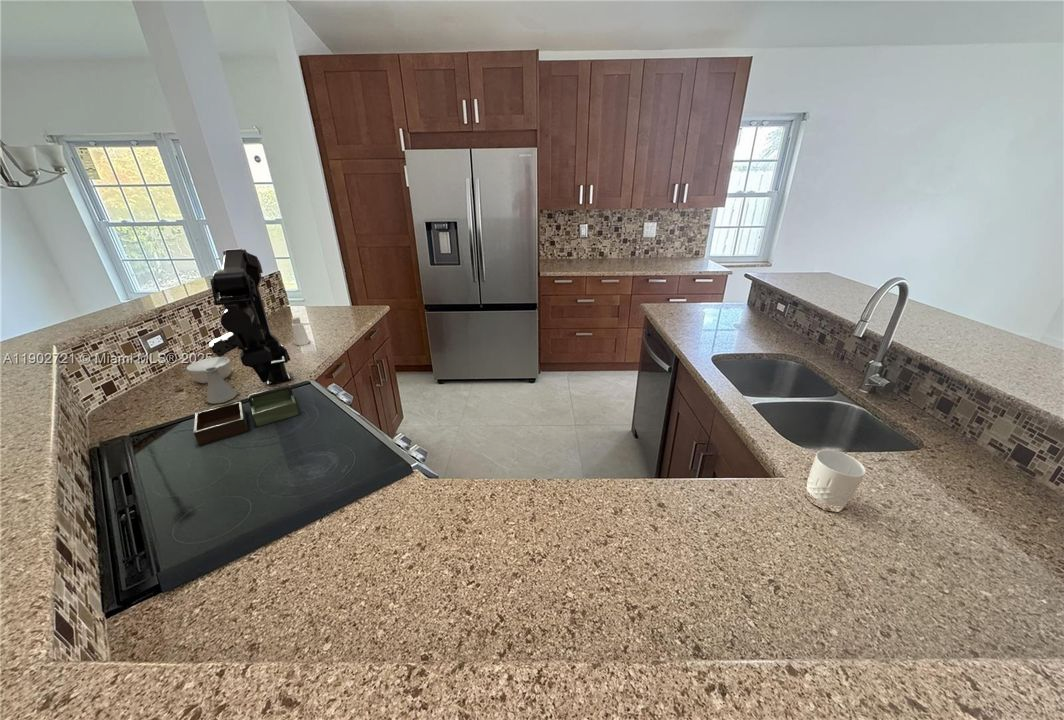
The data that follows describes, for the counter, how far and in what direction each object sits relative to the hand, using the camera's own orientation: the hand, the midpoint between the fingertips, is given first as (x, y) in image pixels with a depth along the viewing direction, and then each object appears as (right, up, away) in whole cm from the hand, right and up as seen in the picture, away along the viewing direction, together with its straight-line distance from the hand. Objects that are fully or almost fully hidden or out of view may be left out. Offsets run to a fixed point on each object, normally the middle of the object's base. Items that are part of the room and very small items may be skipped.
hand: (263, 375), depth 101 cm
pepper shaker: (-22, +11, +52) cm, 58 cm away
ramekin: (-34, -2, +24) cm, 42 cm away
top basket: (0, -11, +5) cm, 12 cm away
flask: (-21, -8, +12) cm, 25 cm away
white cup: (+134, -25, -25) cm, 139 cm away
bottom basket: (-8, -14, -3) cm, 17 cm away
